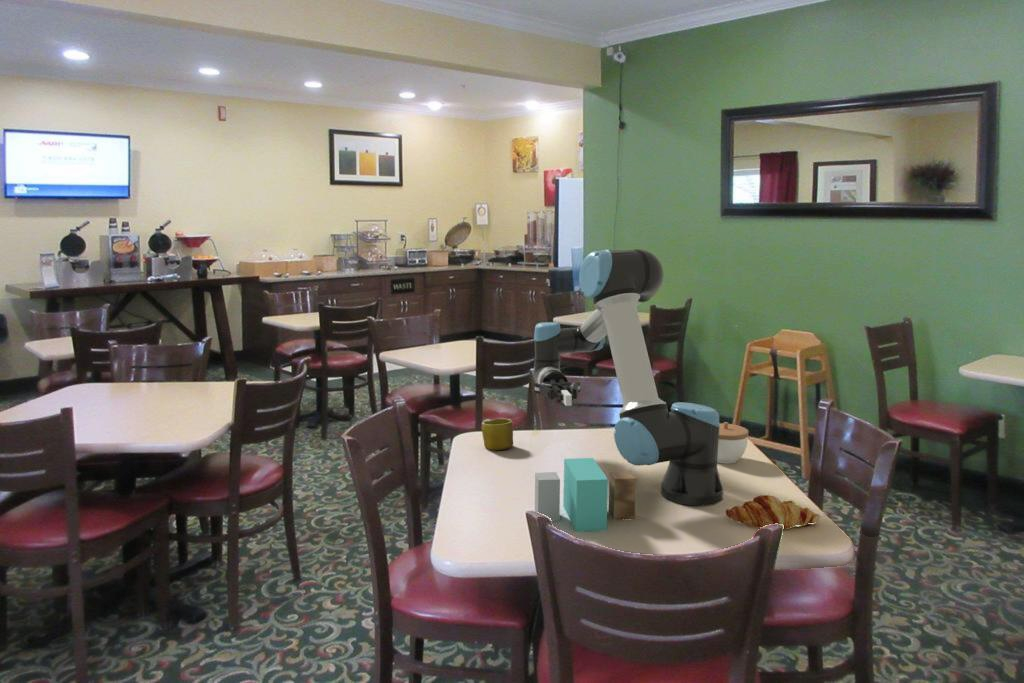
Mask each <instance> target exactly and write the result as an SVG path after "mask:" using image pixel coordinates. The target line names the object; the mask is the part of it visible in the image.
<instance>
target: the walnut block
mask: <svg viewBox="0 0 1024 683" xmlns="http://www.w3.org/2000/svg"><path fill="white" fill-rule="evenodd" d="M608 473H609V477H608V505H607V513H608V514H609V515H610V517H611V519H612V521H628V519H633V520H635V517H636V498H637V497H636V488H637V477H636V476H635V475H634V473H633V472H632V471H631V470H620V471H619V470H618V471H609V472H608ZM623 519H624V520H623ZM625 519H627V520H625Z"/></svg>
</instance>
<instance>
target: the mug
mask: <svg viewBox="0 0 1024 683" xmlns="http://www.w3.org/2000/svg"><path fill="white" fill-rule="evenodd" d="M481 432H482V439H483V443H484V444H483V445H484V447H485V448H486V449H487V450H489V451H493V450H494V451H503V450H508V449H510V448H512V447H513V446H514V422H513V420H512V419H511V418H493V419H489V418H486V419H484V420H483V421H482V422H481ZM494 451H493V452H494Z"/></svg>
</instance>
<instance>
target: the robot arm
mask: <svg viewBox="0 0 1024 683" xmlns="http://www.w3.org/2000/svg"><path fill="white" fill-rule="evenodd" d="M664 273H665V271H664V268H663V265H662V263H661V261H660V259H659V258H658V257H657V256H656V255H655V254H654V253H652V252H650V251H648V250H645V249H640V248H639V249H603V250H595V251H591V252H590V253H589V254H587V255H586V257H585V258H584V260H583V261H582V264H581V267H580V269H579V278H578V280H579V288H580V291H581V293H582V294H583V295H584V296H585V297H586V298H588V299H592V300H593V305H594V308H595V310H594V311H593V312H591V313H590V315H589V316H587V318H586V319H585V320H584V321H583V322H582V323H581V324H580V325H579V326H578V327H565V328H564V327H563V328H561V325H560V323H558V322H539V323H536V325H535V327H534V334H533V340H534V364H533V365H534V366H533V369H532V378H533V382H535V383H534V393H535V394H538V395H540V396H542V397H545V398H547V399H549V400H551V401H552V400H554V399H556V400H555V401H556V403H561V402H562V403H563V404H564V405H565V407H571V406H573V405H572V402H573V400H577V399H578V393H580V392H581V382H579V381H578V382H573V383H571V381H568V378H567V377H566V375H565V374H564V373H563V372H562V371H561V355H563V354H565V355H566V354H574V353H575V354H576V353H587V352H588V353H592V352H594V351H600V350H601V349H603V348H604V344H605V343H606V336H607V340H608V343H609V348H610V351H611V352H610V353H611V356H612V360H613V362H612V363H613V365H614V369H615V374H616V378H617V382H618V383H617V384H618V387H619V392H620V395H621V400H622V404H623V405H622V407H621V409H620V411H619V412H618V414H619V415H618V416H619V420H618V421H617V422H616V423H615V426H614V428H613V429H614V432H613V437H614V443H615V447H616V449H617V451H618V453H619V454H620V456H621V457H622V458H623V459H624V460H626V462H627V463H629V464H630V465H633V466H651V465H654V464H659V463H666V462H668V466H667V469H666V471H665V474H664V477H663V479H662V481H661V484H660V485H661V486H660V494H661V495H662V497H663V498H664V499H666V500H668V501H671V502H672V503H673V502H674V503H677V504H681V505H684V506H685V505H686V506H695V507H696V506H698V507H701V506H711V505H715V504H719V503H720V502H722V500H723V498H724V497H723V496H724V487H723V484H722V479H721V478H720V476H721V475H720V473H719V471H718V463H717V457H718V442H719V428H720V425H719V423H720V413H719V412H718V411H717V410H716V409H714V408H713V407H710V406H707V405H703V404H698V403H693V402H679V401H677V402H674V403H672V405H671V407H670V410H671V411H669V409H668V404H667V402H666V401H664V400H663V399H661V398H660V397H659V394H658V391H657V386H656V382H655V379H654V374H653V369H652V365H651V361H650V357H649V354H648V350H647V345H646V341H645V336H644V332H643V328H642V325H641V320H640V315H639V312H638V308H637V307H638V306H640V304H641V303H643V304H644V303H646V302H648V301H649V300H651V298H653V297H654V296H655V295H656V294H657V293H658V291H659V290H660V289H661V287H662V285H663V282H664V275H665V274H664Z"/></svg>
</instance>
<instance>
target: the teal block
mask: <svg viewBox="0 0 1024 683" xmlns="http://www.w3.org/2000/svg"><path fill="white" fill-rule="evenodd" d="M608 499H609V478H607V476H606V474H605V473H604V471H603V470H602V469H601V467H600V466H599V464H598V463H597V461H596V460H595V459H594V458H593V457H585V458H583V457H582V458H581V457H580V458H579V457H578V458H564V459H563V498H562V500H563V509H564V510H565V512H566V514H567V517H568V519H569V521H570V523H571V525H572V527H573V529H574V531H575V532H577V533H580V532H603V531H607V530H608V529H607V526H608Z"/></svg>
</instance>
